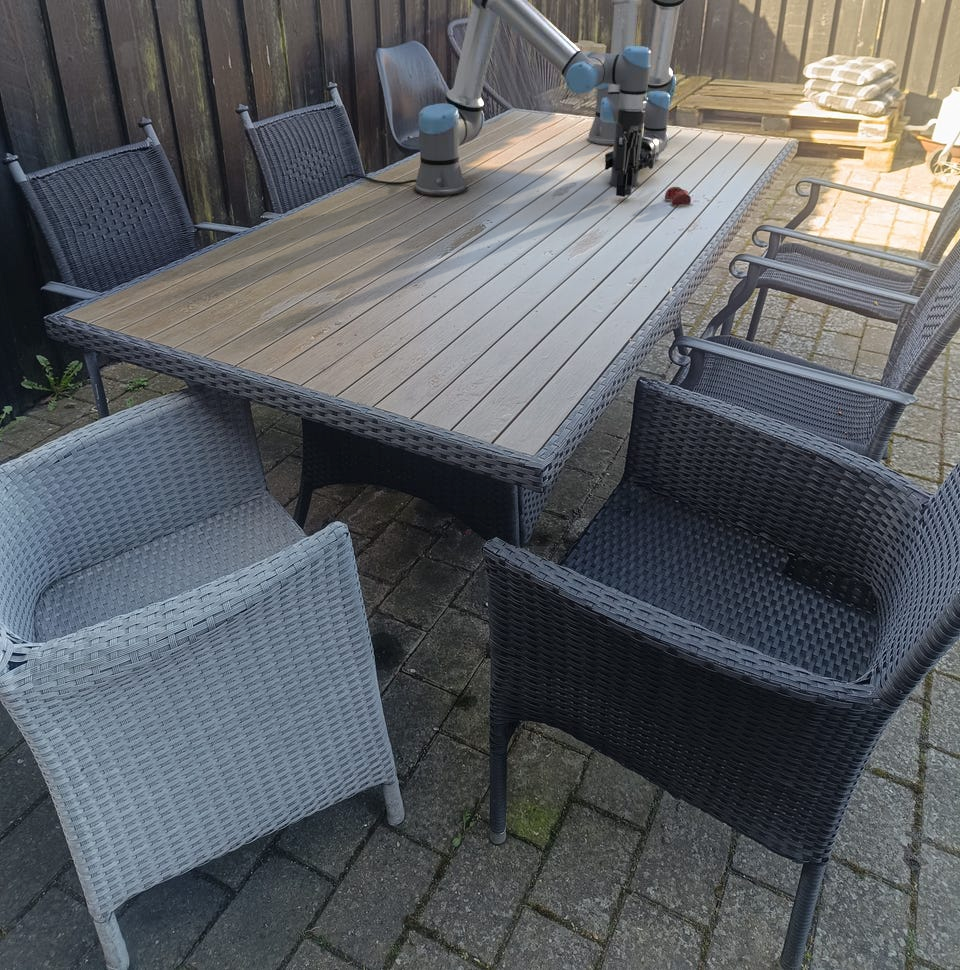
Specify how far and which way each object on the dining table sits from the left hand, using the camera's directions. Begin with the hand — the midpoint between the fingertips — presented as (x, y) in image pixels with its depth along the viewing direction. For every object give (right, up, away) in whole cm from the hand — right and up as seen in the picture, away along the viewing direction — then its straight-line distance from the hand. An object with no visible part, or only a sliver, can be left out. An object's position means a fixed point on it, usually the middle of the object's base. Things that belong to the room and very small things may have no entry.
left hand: (623, 193), depth 249 cm
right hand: (0, +11, +8) cm, 13 cm away
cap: (0, +1, -1) cm, 2 cm away
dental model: (+16, -3, -1) cm, 16 cm away
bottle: (+2, +8, +15) cm, 17 cm away
